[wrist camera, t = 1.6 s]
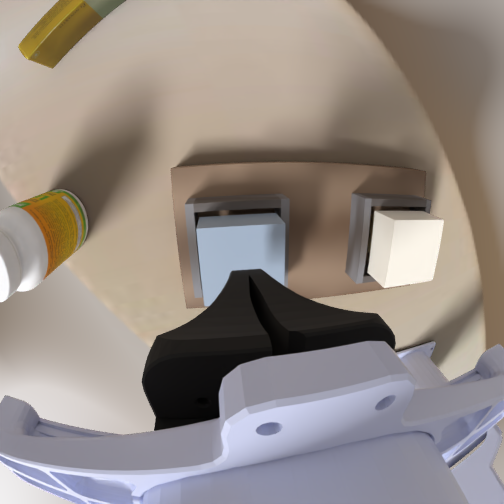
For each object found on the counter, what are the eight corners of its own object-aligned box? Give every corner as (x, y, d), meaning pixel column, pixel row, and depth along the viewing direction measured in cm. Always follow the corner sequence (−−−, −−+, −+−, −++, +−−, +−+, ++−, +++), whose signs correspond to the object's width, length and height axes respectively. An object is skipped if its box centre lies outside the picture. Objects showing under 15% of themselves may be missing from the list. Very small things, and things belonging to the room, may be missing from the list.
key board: (398, 275, 24) (422, 295, 20) (188, 295, 22) (184, 323, 18) (411, 168, 20) (442, 175, 16) (175, 166, 18) (164, 171, 14)
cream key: (414, 266, 19) (432, 280, 16) (367, 272, 18) (384, 288, 16) (422, 210, 17) (443, 219, 15) (374, 210, 17) (394, 220, 14)
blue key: (275, 281, 18) (283, 300, 15) (205, 286, 17) (204, 306, 15) (276, 212, 16) (285, 223, 14) (199, 217, 16) (196, 228, 13)
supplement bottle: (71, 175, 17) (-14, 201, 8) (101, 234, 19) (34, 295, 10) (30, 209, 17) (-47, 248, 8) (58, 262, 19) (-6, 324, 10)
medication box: (149, -37, 11) (138, -61, 7) (166, -26, 12) (157, -52, 8) (41, 56, 13) (14, 46, 9) (52, 71, 14) (25, 61, 10)
